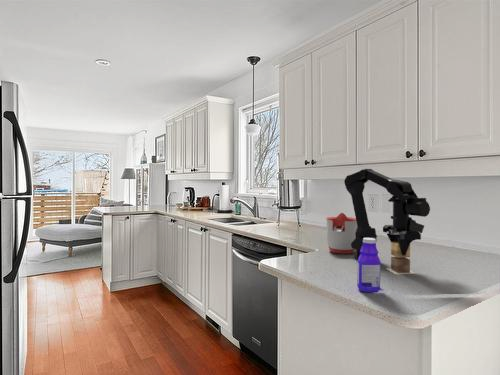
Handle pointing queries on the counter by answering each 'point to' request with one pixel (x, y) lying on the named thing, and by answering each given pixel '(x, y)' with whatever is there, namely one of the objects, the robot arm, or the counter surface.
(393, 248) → the ochre block
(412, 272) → the board
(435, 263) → the counter surface
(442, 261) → the counter surface
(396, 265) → the walnut block
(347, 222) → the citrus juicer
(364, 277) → the bottle
